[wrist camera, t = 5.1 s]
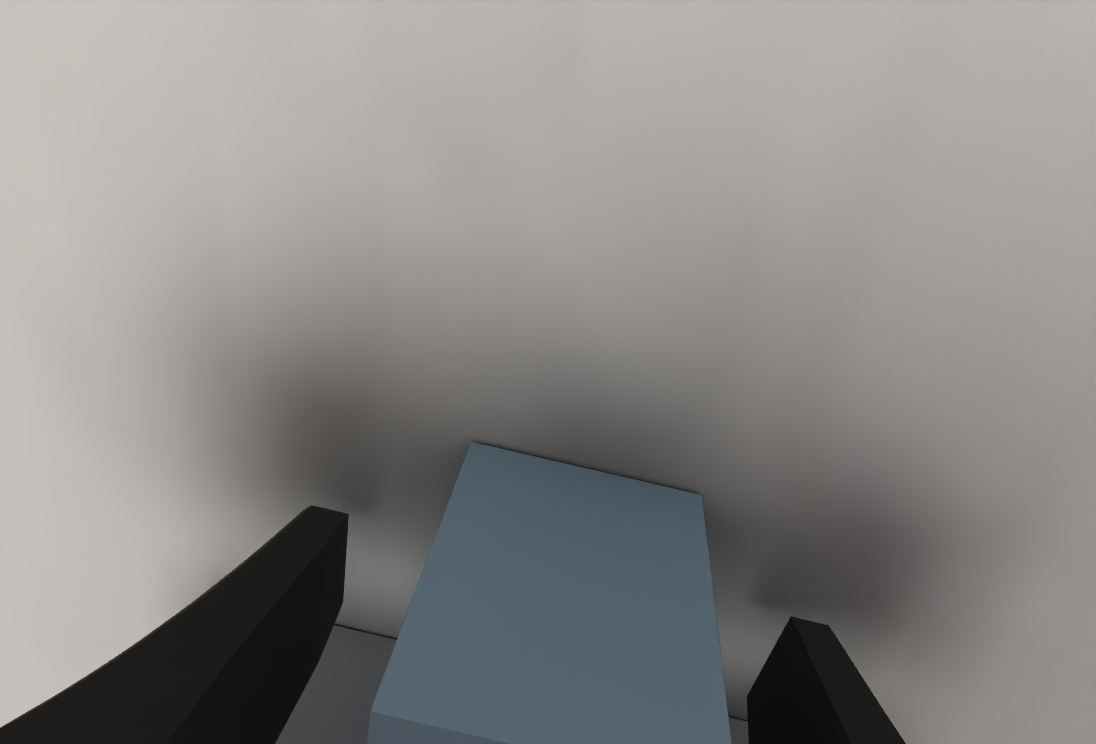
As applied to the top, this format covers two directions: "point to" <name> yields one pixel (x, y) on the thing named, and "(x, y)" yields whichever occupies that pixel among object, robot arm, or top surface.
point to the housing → (360, 692)
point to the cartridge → (558, 615)
